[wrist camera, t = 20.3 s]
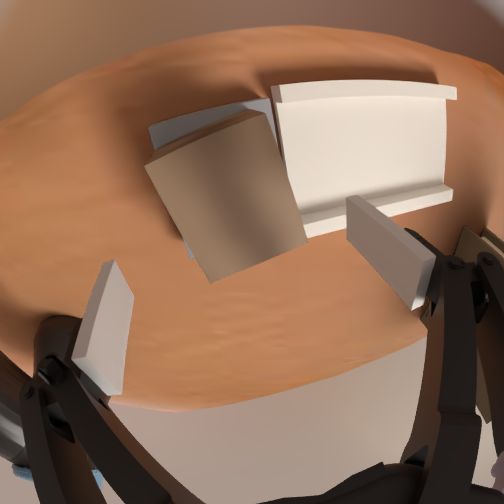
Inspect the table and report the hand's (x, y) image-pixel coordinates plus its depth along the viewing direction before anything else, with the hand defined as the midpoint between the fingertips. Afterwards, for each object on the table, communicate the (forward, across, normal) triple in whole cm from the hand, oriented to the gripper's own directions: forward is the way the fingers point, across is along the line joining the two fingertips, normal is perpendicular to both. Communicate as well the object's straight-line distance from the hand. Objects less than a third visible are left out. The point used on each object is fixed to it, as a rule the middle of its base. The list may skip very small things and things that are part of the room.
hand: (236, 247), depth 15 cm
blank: (+10, +1, 0) cm, 10 cm away
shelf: (+13, +18, 0) cm, 22 cm away
